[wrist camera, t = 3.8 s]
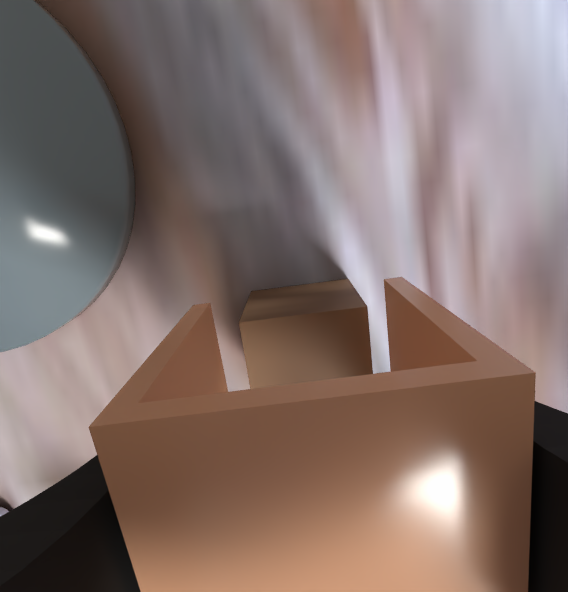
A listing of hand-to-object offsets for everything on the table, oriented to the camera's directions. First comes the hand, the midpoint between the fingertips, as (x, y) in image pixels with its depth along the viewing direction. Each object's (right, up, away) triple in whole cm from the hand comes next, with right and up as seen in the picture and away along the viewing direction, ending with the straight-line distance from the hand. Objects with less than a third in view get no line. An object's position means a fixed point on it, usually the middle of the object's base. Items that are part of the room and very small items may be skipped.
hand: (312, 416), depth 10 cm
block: (0, +2, +6) cm, 6 cm away
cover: (0, 0, +2) cm, 2 cm away
